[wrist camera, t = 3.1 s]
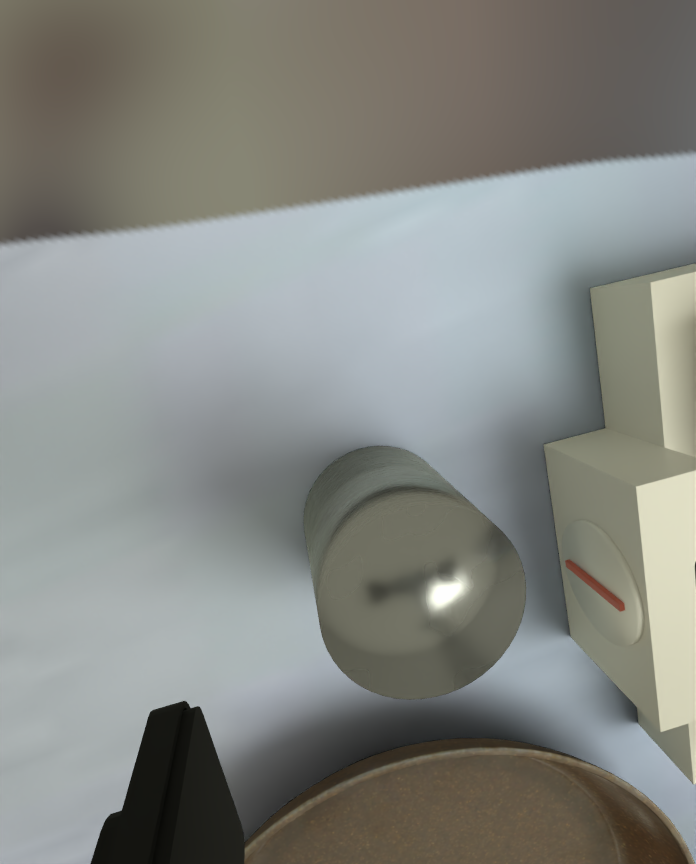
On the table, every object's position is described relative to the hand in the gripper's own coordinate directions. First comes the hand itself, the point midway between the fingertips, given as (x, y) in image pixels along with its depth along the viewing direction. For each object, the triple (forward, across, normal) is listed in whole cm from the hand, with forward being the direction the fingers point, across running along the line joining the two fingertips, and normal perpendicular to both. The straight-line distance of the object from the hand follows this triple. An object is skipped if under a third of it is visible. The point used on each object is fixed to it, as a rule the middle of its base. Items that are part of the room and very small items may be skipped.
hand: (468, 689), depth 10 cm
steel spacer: (+10, 0, +1) cm, 10 cm away
